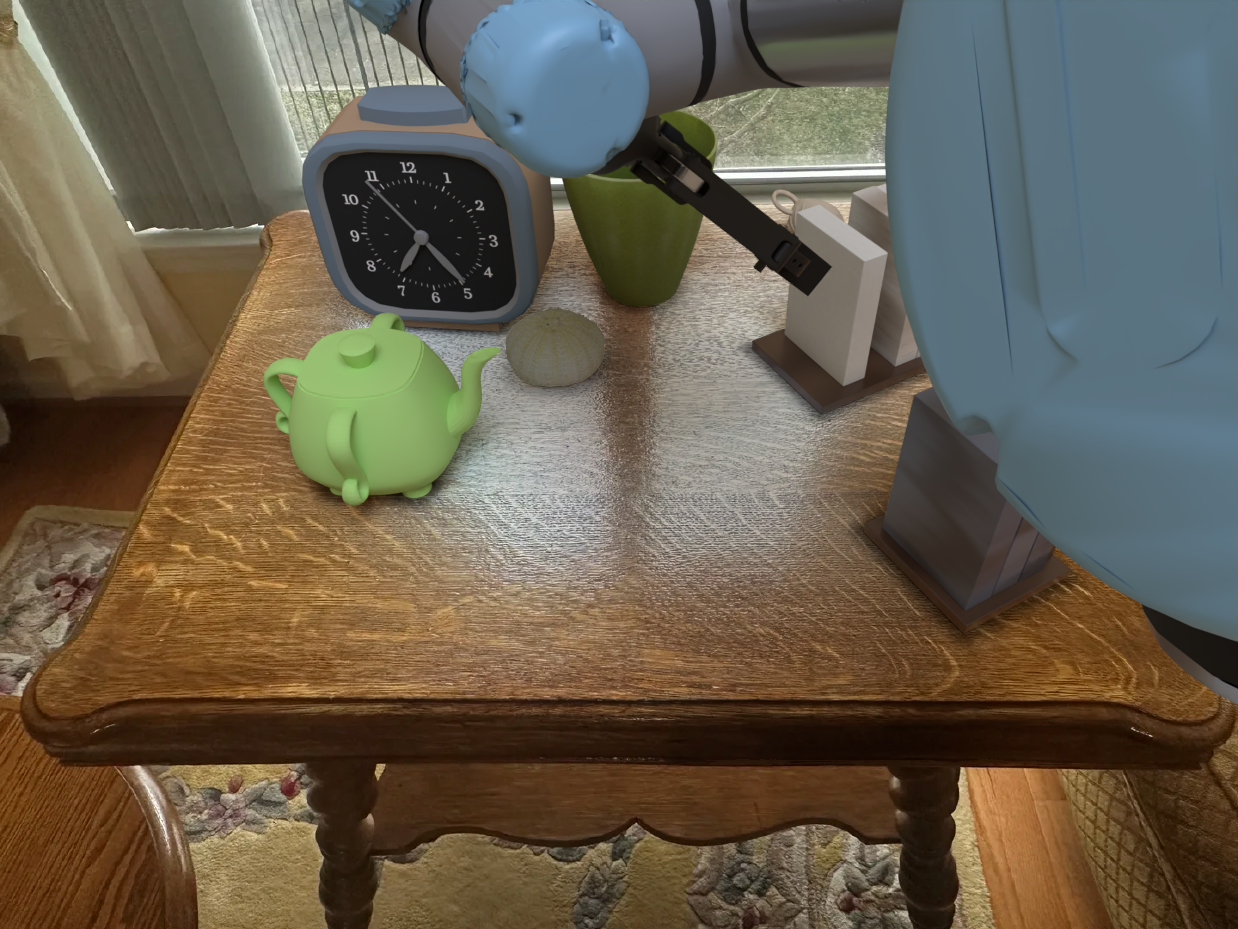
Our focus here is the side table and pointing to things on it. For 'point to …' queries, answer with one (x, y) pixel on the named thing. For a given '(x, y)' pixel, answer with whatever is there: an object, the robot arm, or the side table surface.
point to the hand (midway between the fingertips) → (764, 237)
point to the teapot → (375, 410)
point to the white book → (837, 296)
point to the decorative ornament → (800, 207)
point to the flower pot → (639, 224)
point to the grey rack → (959, 523)
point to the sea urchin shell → (555, 348)
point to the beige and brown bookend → (891, 334)
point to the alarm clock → (427, 212)
